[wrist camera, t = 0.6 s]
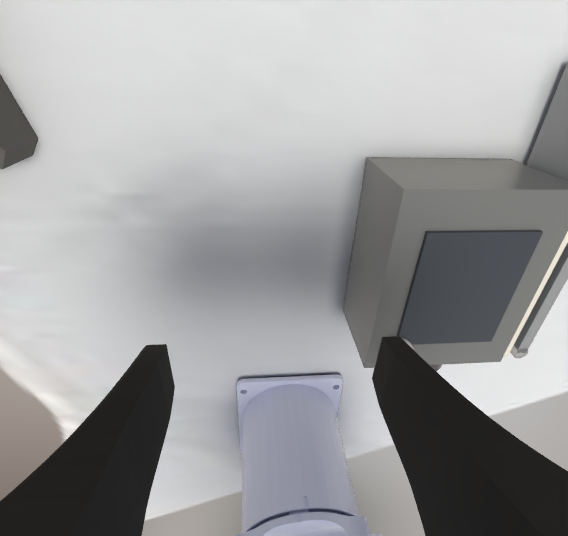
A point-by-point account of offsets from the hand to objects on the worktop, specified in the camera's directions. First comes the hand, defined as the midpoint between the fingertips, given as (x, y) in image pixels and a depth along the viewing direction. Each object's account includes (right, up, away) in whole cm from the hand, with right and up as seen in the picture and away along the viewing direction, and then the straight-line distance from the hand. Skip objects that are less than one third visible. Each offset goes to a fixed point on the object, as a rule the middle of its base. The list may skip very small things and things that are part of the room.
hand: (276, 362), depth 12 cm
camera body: (+9, +5, +9) cm, 13 cm away
